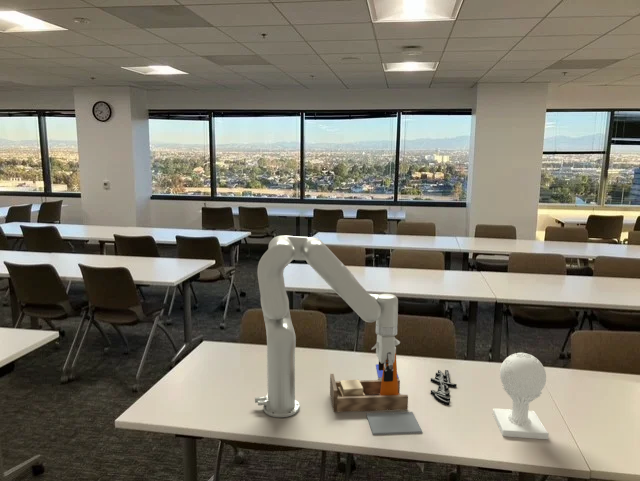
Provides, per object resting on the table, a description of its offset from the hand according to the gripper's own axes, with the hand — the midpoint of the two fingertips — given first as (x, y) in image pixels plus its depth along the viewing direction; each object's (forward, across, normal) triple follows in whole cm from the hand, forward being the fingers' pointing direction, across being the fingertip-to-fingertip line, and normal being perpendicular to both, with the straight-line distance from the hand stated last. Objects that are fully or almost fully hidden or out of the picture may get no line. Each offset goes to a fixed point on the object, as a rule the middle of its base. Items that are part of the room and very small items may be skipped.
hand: (385, 375), depth 169 cm
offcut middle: (+8, 0, -12) cm, 15 cm away
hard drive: (+11, -23, +6) cm, 26 cm away
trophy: (+11, +19, +41) cm, 46 cm away
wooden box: (+10, 0, -6) cm, 12 cm away
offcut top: (+6, 0, -12) cm, 14 cm away
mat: (+10, +15, 0) cm, 18 cm away
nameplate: (+11, -9, +25) cm, 28 cm away
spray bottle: (+10, 0, 0) cm, 10 cm away
